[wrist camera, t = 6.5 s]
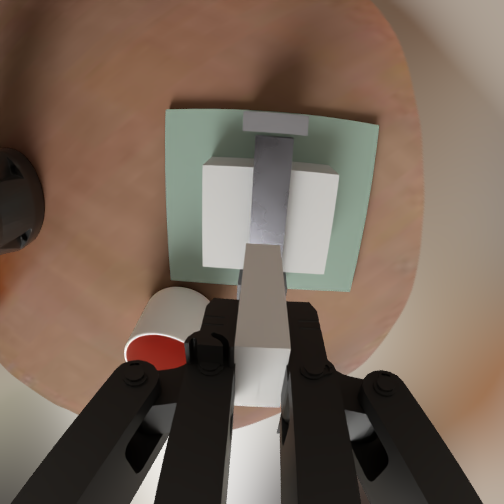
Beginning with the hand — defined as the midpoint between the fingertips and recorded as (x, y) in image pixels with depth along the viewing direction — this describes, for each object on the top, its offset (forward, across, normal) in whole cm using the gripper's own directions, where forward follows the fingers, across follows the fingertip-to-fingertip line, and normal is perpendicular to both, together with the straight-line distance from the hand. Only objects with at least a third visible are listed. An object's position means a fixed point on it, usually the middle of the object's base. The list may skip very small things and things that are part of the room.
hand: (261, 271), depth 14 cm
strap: (+14, +1, -3) cm, 14 cm away
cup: (+21, -9, -19) cm, 30 cm away
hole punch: (+21, +1, -3) cm, 21 cm away
